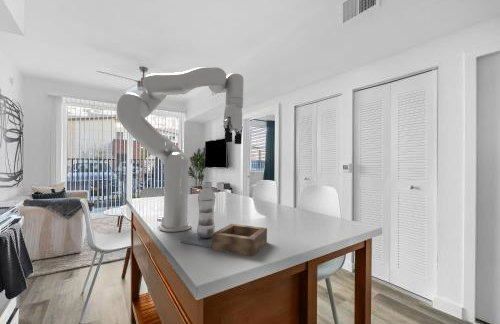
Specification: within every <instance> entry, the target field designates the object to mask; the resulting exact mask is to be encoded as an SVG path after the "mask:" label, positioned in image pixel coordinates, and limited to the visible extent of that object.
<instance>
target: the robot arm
mask: <svg viewBox="0 0 500 324" xmlns="http://www.w3.org/2000/svg"><path fill="white" fill-rule="evenodd" d="M142 87H143V89H144V91H143V92H142V93H141V94H140V95H138V94H136V93H134V92H125V93H123V94H122V95H121V96H120V98H119V99H118V101H117V104H116V113H117V118H118V120H119V123H120V124H121V126H122V127H123V128H124V129H125V130H126V132H127V133H129V134H130V136H132V137H133V138H134V139H135V140H136V141H137V142H138V143H139V144H140V145H141V146H142V147H143V148H144V149H145V150H146V151H147V152H148V153H149V155H152V156H154V157H156V158H158V159H159V160H160V161H161V162H162V163H163V174H164V175H163V177H164V178H163V179H164V180H163V181H164V182H163V183H164V186H163V187H164V188H163V189H164V193H163V195H164V197H163V215H160V216H159V217H158V218H157V219H156V221H157V222H160V223H161V224H160V225H159V227H158V228H159V230H160V231H162V232H168V233H175V232H176V233H177V232H183V231H188V230H190V229H191V228H192V224H191V223H190V222H188V215H189V214H188V213H189V210H188V209H189V207H188V204H189V203H188V202H189V169H190V166H191V160H190V158H189V156H188V155H187V154H186V153H184V151H183V150H181V149H180V147H178V146H177V145H176V144H175V143H174V142H173V141H172V140H171V139H170V138H169V137H167V136H166V135H163V134H162V133H161V132H159V131H158V130H157V129H156V128H155V127H154V126H153V125H152V124H151V123H150V122H149V121H148V120H147V119H146V118H147V117H148V116H150V115H151V114H152V113H153V112H154V111H155V110H156V108H158V107H159V105H160V104H161V103H163V101H164V100H165V99H166V97H167V96H172V95H174V96H175V95H187V93H189V92H191V91H192V90H194V89H196V88H202V87H208V89H209V90H210V91H211V92H213V93H214V94H215V93H216V94H220V93H225V106H224V112H223V113H224V114H223V128H224V131H223V132H224V143H232V142H233V132H234V134H235V135H234V144H235V145H242V135H243V128H244V127H243V107H244V77H243V75H242V74H239V73H229V74H228V75H227V73H226V71H225V70H224V69H223V68H220V67H216V66H210V67H209V66H205V67H202V66H201V67H196V68H192V69H190V70H186V71H183V72H174V73H173V72H172V73H171V72H168V73H150V74H147V75H145V76H144V78H143V79H142ZM232 131H233V132H232Z"/></svg>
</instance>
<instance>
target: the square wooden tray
mask: <svg viewBox="0 0 500 324" xmlns="http://www.w3.org/2000/svg"><path fill="white" fill-rule="evenodd" d="M266 242H268V227H259V226H252V225H245V224H237V223H229V224H228V225H225V226H224V227H222V228H220V229H218V230H216V231H215V233H213V234H212V247H211V250H212V251H213V250H215V251H220V252H225V253H226V252H227V253H231V254H237V255H243V256H244V255H245V256H248V257H249V256H250V257H254V256H255V255H256V254H257V253H258V252H259V251H260V250H261V249H262V248H263V247H264V246H265V245H266V244H267V243H266ZM265 243H266V244H265ZM264 244H265V245H264Z"/></svg>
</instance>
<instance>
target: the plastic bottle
mask: <svg viewBox="0 0 500 324" xmlns="http://www.w3.org/2000/svg"><path fill="white" fill-rule="evenodd" d="M201 188H202V189H201V190H200V192H199V193H198V196H197V202H198V212H199V213H198V221H197V222H198V224H197V229H196V234H198V236H199V237H200V238H211V237H212V234H213V233H215V232H216V225H215V218H214V217H215V216H214V215H215V213H214V212H215V205H216V204H215V203H216V198H217V196H216V194H215V192H214V190H213V182H212V181H202V183H201Z"/></svg>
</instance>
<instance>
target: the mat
mask: <svg viewBox="0 0 500 324" xmlns="http://www.w3.org/2000/svg"><path fill="white" fill-rule="evenodd" d="M180 243H181V244H187V245H192V246H199V247H203V248H204V247H205V248H210V249H212V237H211V238H200V237H199V236H198V234H197V233H195V234H193V235H191V236H189V237H186V238H184V239H181V240H180Z"/></svg>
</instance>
